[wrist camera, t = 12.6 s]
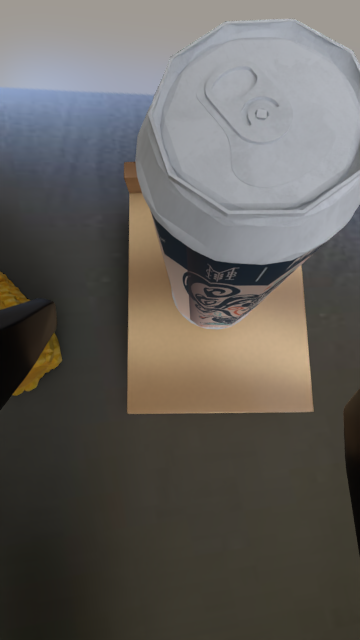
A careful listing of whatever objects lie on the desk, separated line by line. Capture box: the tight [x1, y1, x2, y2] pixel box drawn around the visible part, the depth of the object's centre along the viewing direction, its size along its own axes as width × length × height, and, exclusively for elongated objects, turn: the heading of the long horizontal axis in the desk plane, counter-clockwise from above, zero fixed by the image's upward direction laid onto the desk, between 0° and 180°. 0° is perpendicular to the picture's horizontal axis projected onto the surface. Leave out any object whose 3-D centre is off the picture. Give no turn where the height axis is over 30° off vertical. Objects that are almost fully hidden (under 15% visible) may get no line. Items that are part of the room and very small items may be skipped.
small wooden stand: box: [124, 162, 313, 414], centre depth 18 cm, size 14×10×6 cm
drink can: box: [136, 19, 360, 329], centre depth 11 cm, size 5×5×12 cm
